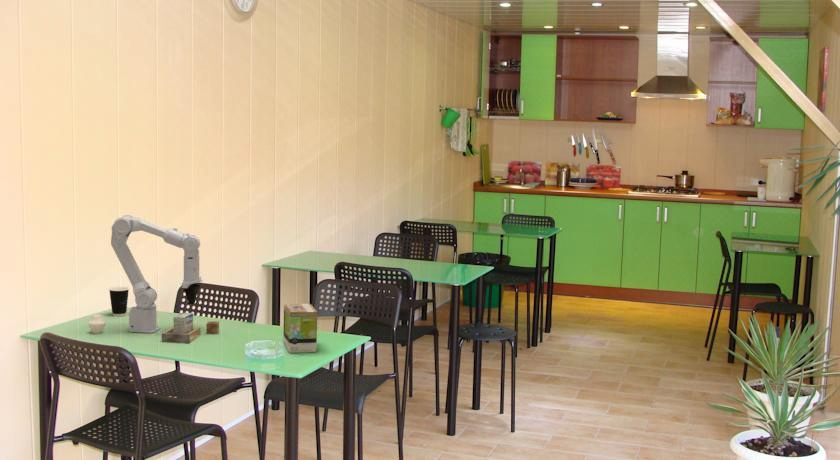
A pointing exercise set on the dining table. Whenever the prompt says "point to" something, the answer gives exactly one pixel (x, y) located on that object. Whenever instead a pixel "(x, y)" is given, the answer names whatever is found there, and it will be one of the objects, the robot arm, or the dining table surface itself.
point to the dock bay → (180, 336)
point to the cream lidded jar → (97, 324)
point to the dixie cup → (119, 300)
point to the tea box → (300, 328)
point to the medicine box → (183, 323)
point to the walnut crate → (212, 327)
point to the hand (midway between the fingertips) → (191, 303)
